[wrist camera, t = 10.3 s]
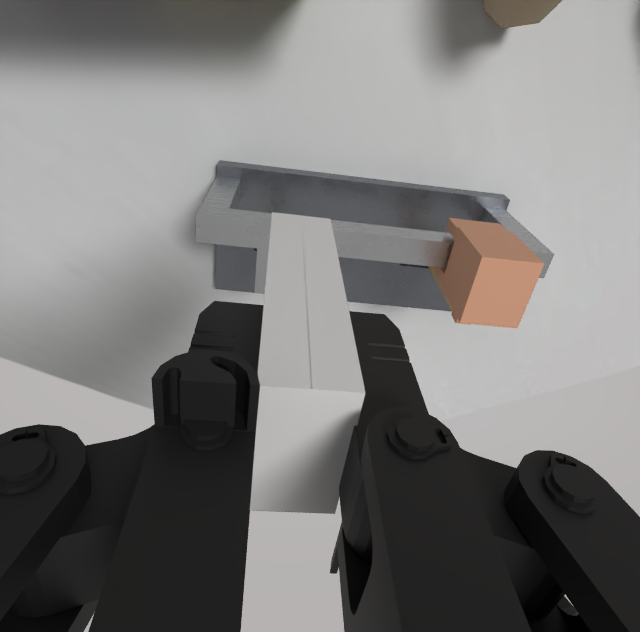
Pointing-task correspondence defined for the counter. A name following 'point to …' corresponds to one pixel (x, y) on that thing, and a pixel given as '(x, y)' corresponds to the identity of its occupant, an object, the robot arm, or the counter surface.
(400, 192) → the bolt plate
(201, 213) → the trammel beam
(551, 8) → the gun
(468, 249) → the block
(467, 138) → the counter surface
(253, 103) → the counter surface
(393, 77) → the counter surface
